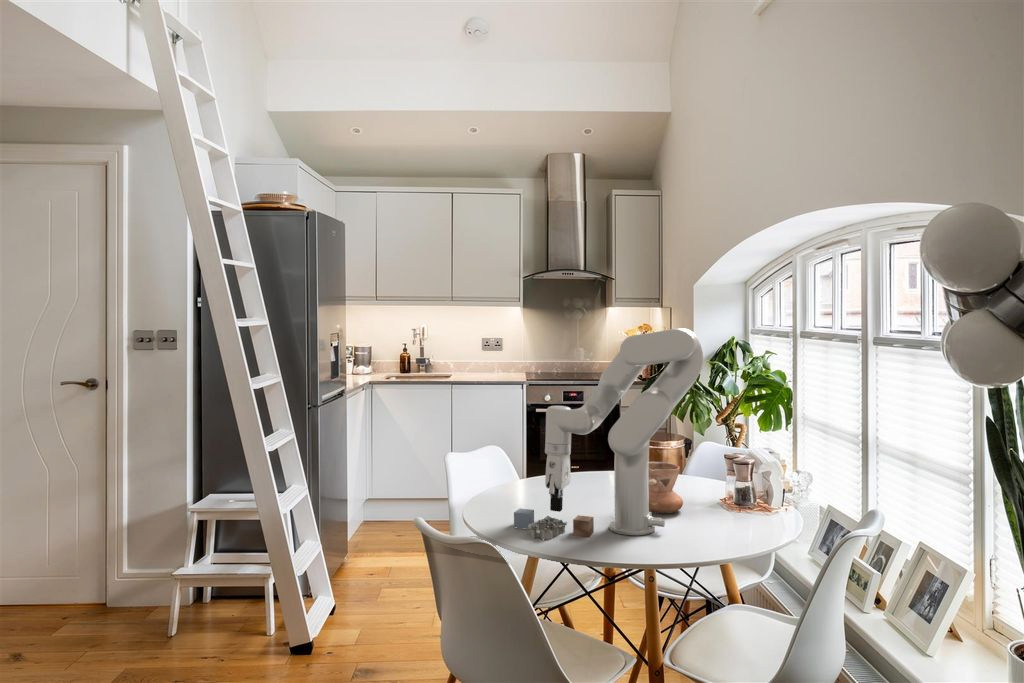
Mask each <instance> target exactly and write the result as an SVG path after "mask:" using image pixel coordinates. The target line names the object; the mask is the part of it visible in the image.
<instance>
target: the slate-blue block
mask: <svg viewBox="0 0 1024 683" xmlns="http://www.w3.org/2000/svg"><path fill="white" fill-rule="evenodd" d="M530 523H535V509H529V508H522V507H521V508H518V509H517V510H515V511H514V512H513V528H514V527H517V528H516V529H521V528H526V529H525V530H529V529H528V525H529V524H530Z"/></svg>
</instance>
